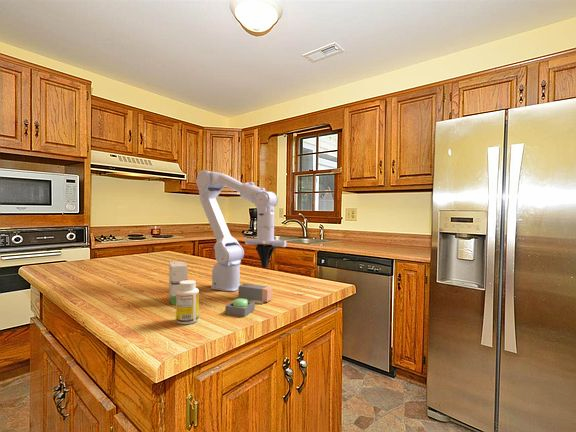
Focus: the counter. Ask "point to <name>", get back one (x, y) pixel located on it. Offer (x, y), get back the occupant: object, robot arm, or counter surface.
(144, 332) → the counter surface
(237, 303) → the button
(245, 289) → the grey rectangular block
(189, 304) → the supplement bottle
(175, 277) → the ink box
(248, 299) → the sheet
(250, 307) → the button housing
